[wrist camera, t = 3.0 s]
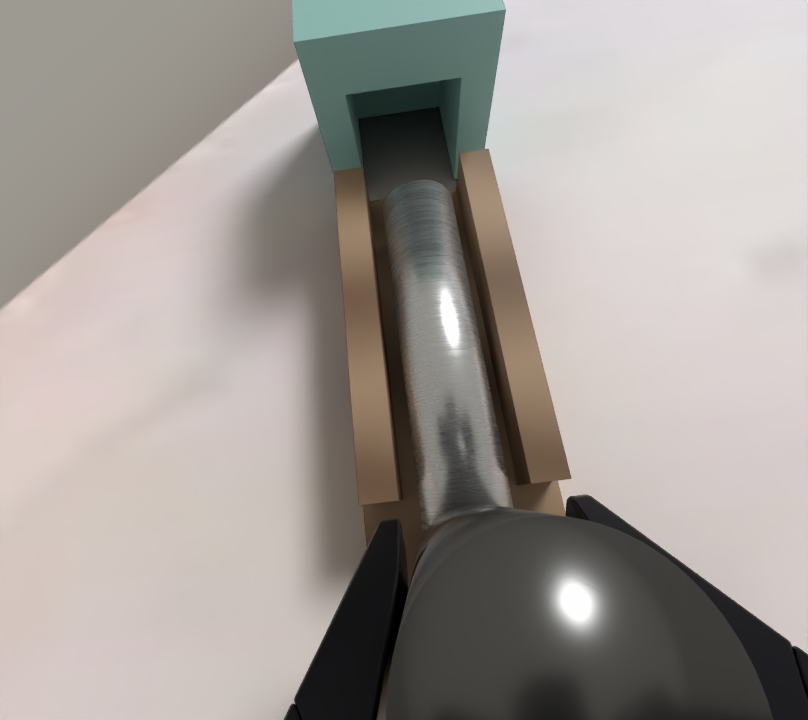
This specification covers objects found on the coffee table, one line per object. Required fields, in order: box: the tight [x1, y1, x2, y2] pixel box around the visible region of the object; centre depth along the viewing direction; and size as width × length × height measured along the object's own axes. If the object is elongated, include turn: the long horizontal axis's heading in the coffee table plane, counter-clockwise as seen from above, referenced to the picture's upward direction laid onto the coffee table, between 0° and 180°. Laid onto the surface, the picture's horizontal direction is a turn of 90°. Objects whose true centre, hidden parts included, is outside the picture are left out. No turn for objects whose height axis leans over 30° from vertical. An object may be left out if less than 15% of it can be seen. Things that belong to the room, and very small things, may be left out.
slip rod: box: [383, 179, 773, 720], centre depth 10 cm, size 15×3×10 cm, turn 7°
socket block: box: [292, 0, 506, 179], centre depth 17 cm, size 6×7×7 cm
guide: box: [334, 149, 571, 586], centre depth 14 cm, size 19×7×3 cm, turn 7°
